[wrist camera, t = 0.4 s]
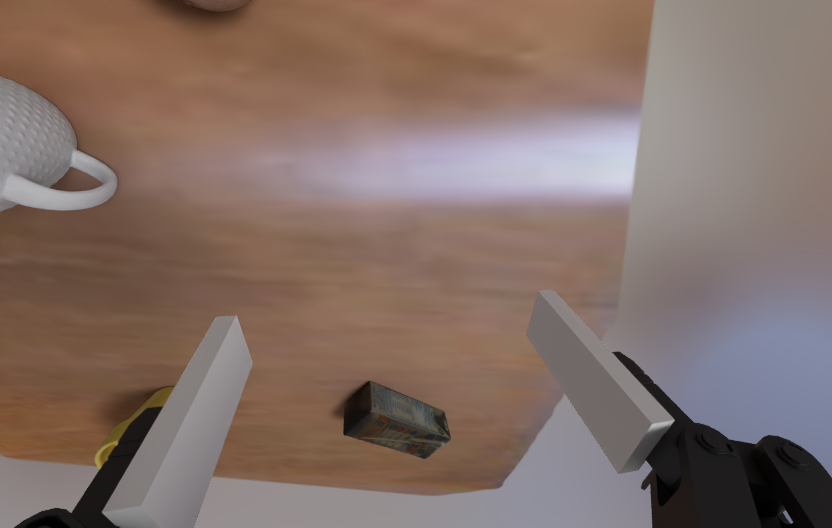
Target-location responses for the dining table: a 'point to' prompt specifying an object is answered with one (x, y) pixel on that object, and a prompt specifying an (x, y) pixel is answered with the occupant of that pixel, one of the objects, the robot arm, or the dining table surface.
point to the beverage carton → (395, 421)
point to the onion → (216, 4)
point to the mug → (42, 155)
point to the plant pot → (114, 436)
